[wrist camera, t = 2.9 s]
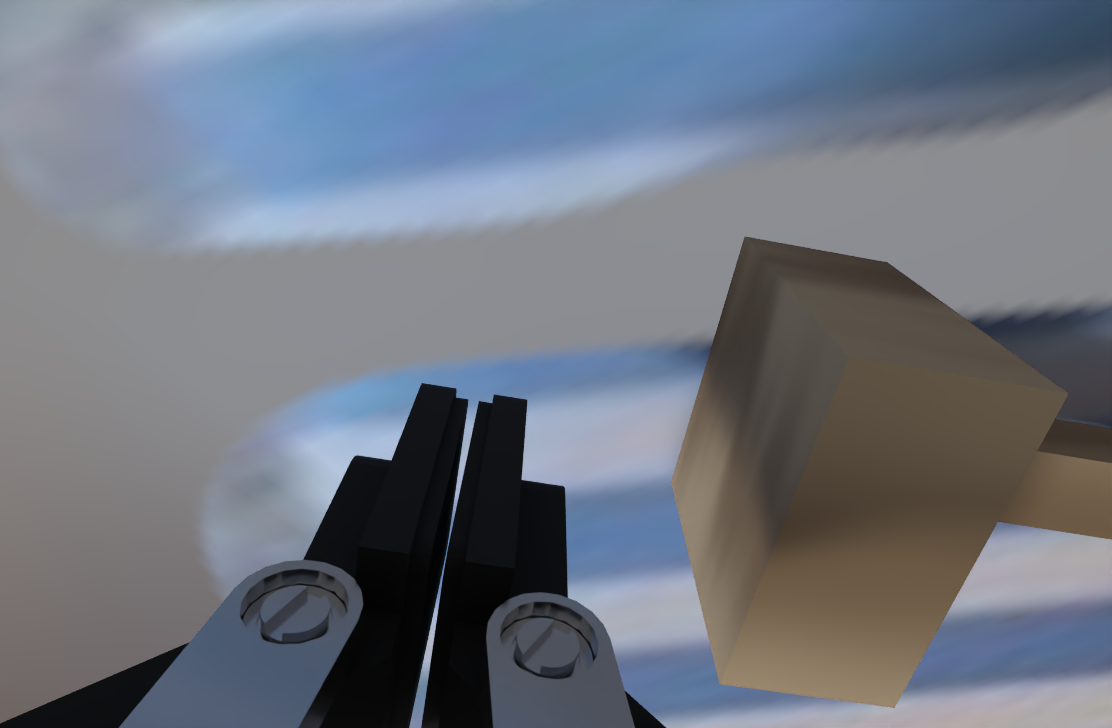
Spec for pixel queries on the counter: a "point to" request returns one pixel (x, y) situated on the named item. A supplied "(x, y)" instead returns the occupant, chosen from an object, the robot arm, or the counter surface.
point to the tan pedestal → (861, 471)
